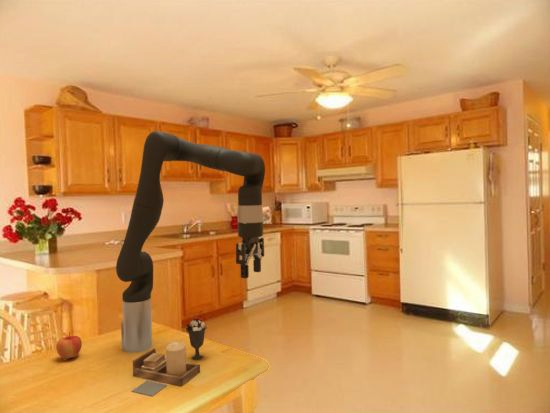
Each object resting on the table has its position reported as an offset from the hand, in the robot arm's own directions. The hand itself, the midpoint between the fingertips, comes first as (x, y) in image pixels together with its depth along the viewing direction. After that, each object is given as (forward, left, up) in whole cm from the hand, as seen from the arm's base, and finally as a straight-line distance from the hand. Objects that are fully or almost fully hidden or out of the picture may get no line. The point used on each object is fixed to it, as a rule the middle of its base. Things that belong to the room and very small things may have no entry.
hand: (251, 274), depth 113 cm
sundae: (-20, 0, -29) cm, 35 cm away
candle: (-19, -12, -28) cm, 36 cm away
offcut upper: (-27, -12, -26) cm, 39 cm away
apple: (-60, -14, -29) cm, 68 cm away
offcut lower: (-27, -12, -28) cm, 41 cm away
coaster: (-21, -21, -29) cm, 41 cm away
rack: (-22, -12, -29) cm, 38 cm away
